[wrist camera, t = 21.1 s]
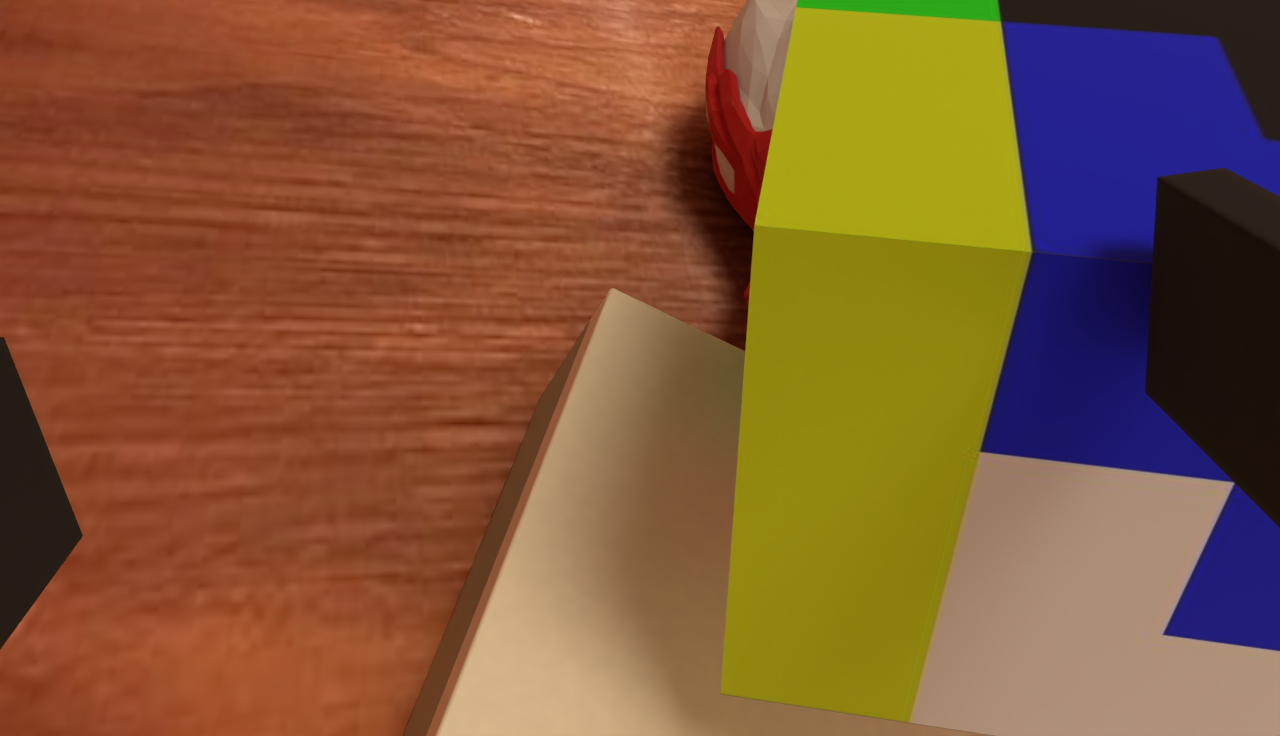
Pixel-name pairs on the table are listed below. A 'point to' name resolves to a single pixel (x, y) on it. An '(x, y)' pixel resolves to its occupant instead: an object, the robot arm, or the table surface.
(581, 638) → the cream grey rectangular block
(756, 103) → the white and red skull
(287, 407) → the table surface
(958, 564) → the puzzle toy
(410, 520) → the table surface
